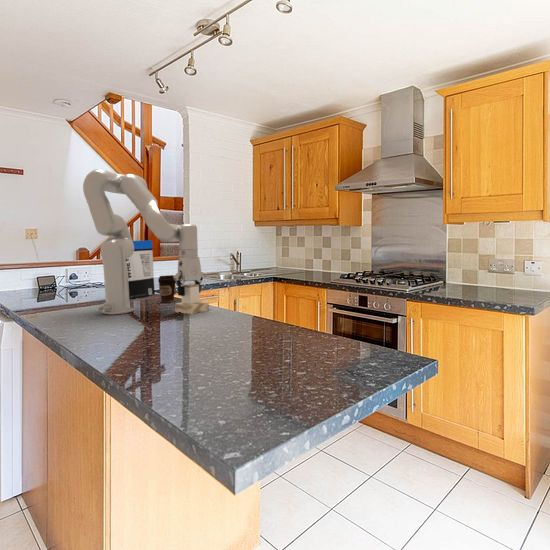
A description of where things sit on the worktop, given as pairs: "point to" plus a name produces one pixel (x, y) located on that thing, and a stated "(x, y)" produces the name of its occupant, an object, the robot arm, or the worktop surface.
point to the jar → (191, 294)
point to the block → (192, 307)
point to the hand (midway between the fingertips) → (189, 294)
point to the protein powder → (141, 270)
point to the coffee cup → (167, 288)
